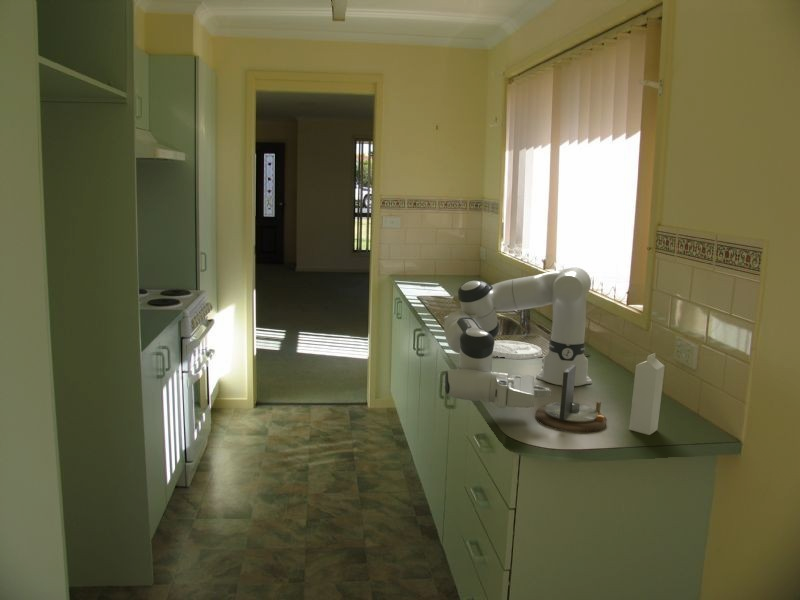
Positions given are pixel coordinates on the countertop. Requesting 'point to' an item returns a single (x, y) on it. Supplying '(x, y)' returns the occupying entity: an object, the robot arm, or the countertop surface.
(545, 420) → the post base
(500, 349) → the medallion
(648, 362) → the milk
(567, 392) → the grey finned round piece
